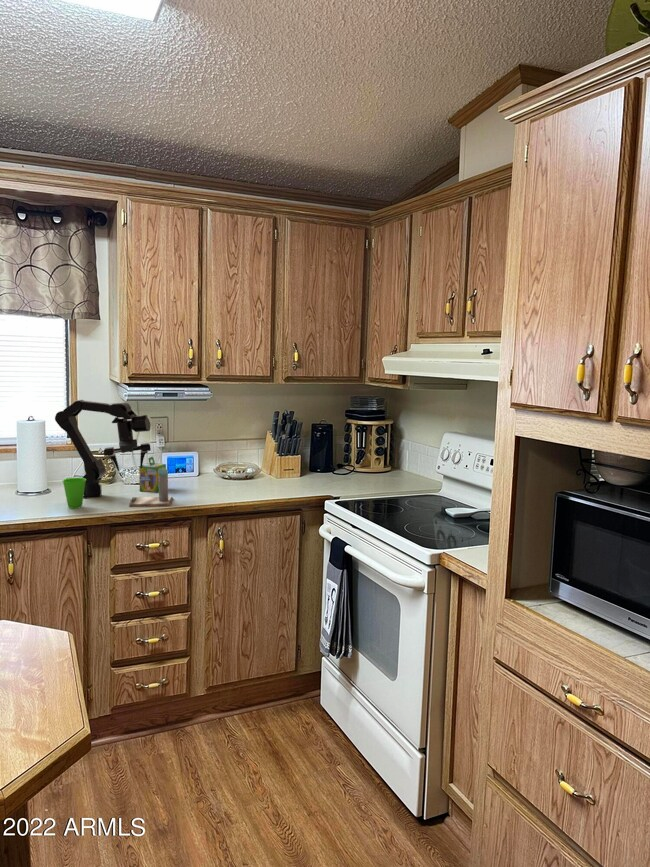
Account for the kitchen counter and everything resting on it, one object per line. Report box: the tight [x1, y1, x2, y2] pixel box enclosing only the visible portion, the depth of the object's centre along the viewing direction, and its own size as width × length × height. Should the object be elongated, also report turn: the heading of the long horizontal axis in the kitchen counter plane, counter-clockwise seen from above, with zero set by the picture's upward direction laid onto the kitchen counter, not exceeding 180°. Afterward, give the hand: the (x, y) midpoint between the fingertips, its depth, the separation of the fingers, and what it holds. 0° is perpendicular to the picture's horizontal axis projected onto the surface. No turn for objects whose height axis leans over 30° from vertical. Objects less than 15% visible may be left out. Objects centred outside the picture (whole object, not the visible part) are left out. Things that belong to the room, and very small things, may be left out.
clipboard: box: [128, 496, 173, 508], centre depth 272 cm, size 16×13×2 cm
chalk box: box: [138, 456, 167, 493], centre depth 294 cm, size 9×9×15 cm
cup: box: [61, 477, 86, 509], centre depth 261 cm, size 9×9×11 cm
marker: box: [158, 468, 169, 502], centre depth 271 cm, size 4×4×13 cm
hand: (129, 469), depth 277 cm, fingers open, 9 cm apart
